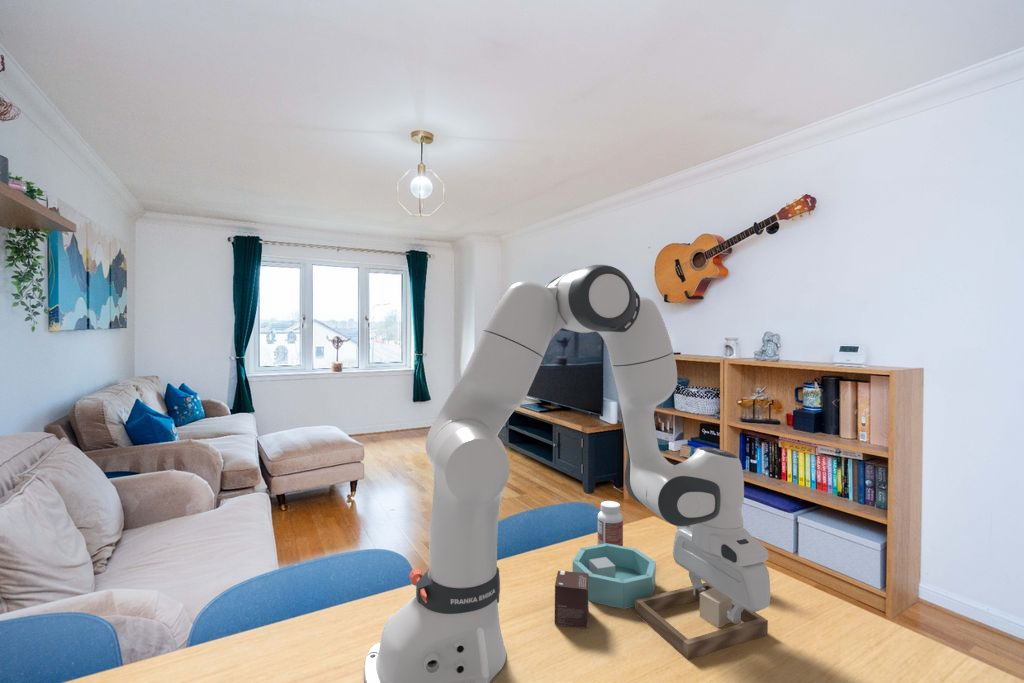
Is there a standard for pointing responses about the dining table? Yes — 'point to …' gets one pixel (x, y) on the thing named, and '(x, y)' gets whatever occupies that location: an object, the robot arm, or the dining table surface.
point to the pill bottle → (610, 524)
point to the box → (571, 599)
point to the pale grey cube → (602, 567)
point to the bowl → (618, 575)
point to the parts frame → (704, 643)
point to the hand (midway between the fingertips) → (715, 608)
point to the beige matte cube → (715, 607)
